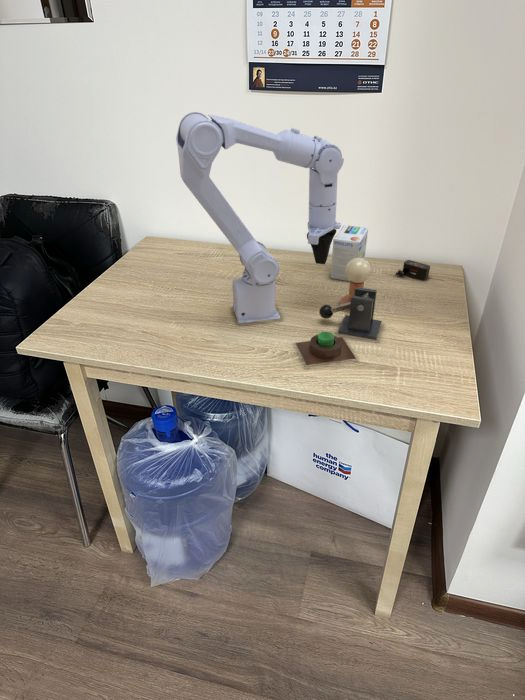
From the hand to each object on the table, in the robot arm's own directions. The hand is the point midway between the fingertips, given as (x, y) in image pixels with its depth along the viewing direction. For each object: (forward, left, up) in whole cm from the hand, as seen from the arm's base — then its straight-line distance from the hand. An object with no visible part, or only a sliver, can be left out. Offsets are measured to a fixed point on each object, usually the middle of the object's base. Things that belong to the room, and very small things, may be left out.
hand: (320, 262), depth 115 cm
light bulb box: (+13, +15, -11) cm, 22 cm away
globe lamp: (+8, -3, -10) cm, 13 cm away
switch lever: (+2, -12, -7) cm, 14 cm away
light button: (-5, -20, -8) cm, 22 cm away
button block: (-5, -20, -10) cm, 23 cm away
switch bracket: (+5, -13, -10) cm, 18 cm away
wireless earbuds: (+28, +9, -11) cm, 31 cm away
